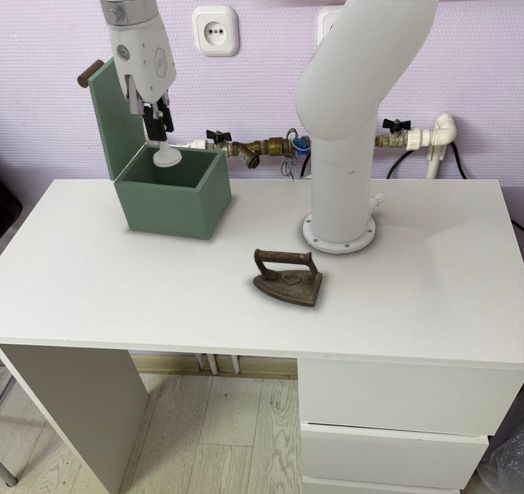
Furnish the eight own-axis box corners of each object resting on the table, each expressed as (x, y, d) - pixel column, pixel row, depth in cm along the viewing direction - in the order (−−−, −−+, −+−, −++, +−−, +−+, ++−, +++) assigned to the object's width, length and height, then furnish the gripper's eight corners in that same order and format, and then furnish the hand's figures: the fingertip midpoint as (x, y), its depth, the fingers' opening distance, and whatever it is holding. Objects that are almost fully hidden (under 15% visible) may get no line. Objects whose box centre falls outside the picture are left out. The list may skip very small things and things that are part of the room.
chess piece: (159, 170, 84) (143, 111, 76) (149, 157, 87) (133, 99, 79) (185, 161, 85) (172, 102, 77) (175, 148, 88) (162, 91, 80)
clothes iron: (319, 310, 77) (301, 265, 69) (253, 311, 82) (230, 270, 74) (327, 276, 80) (311, 230, 73) (263, 279, 85) (242, 236, 78)
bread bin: (232, 198, 97) (224, 150, 89) (209, 240, 89) (198, 192, 81) (158, 190, 101) (144, 143, 93) (130, 230, 93) (113, 183, 85)
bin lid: (131, 44, 79) (102, 38, 79) (92, 80, 71) (60, 74, 72) (146, 142, 92) (121, 136, 93) (114, 181, 85) (87, 175, 85)
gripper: (128, 31, 63) (163, 163, 77) (177, -12, 72) (199, 113, 86) (77, 30, 65) (120, 159, 79) (131, -12, 74) (160, 111, 88)
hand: (161, 134), depth 83 cm, fingers closed on chess piece
